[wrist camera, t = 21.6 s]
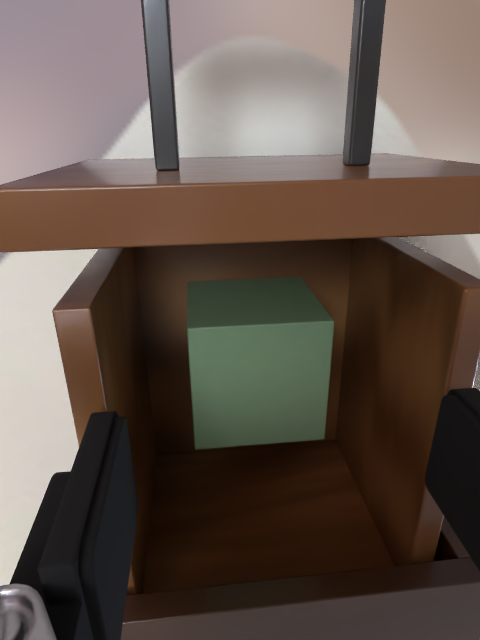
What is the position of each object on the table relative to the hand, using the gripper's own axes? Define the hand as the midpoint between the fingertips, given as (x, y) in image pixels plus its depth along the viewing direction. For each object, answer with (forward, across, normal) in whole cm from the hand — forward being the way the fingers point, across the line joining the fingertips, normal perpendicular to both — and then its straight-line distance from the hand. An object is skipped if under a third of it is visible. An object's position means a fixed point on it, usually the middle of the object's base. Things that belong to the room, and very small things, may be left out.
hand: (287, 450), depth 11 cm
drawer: (+9, 0, -2) cm, 9 cm away
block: (+8, 0, 0) cm, 8 cm away
